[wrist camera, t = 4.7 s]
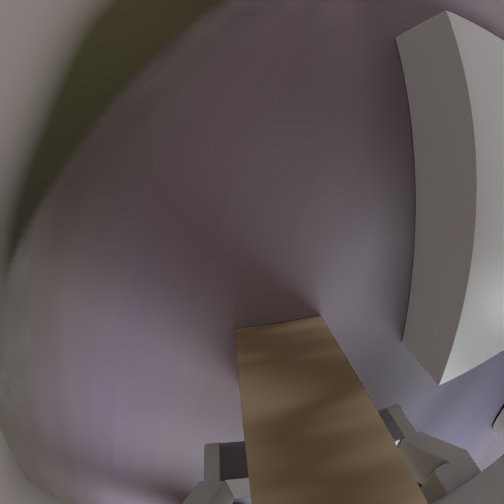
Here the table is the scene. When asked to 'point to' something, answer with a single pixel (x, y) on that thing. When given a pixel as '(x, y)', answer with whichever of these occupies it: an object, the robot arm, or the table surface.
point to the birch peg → (313, 422)
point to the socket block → (456, 194)
